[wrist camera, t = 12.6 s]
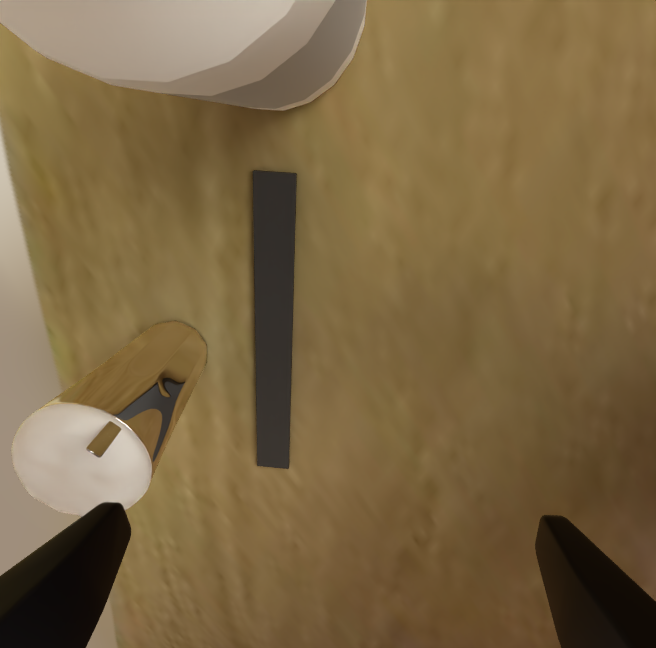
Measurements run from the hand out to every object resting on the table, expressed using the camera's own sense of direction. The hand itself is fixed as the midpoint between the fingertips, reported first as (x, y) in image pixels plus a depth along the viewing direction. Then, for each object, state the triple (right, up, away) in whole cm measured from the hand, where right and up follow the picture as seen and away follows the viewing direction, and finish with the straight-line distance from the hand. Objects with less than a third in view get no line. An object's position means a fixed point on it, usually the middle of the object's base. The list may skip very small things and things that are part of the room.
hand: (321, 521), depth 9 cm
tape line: (-2, +3, +12) cm, 13 cm away
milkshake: (-7, +3, +12) cm, 15 cm away
